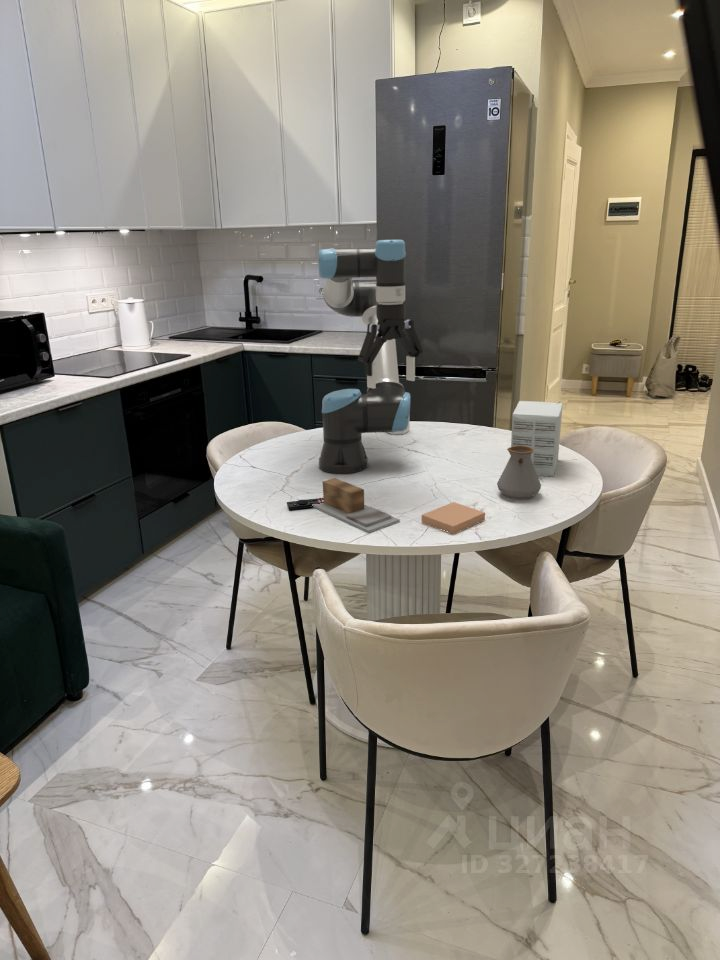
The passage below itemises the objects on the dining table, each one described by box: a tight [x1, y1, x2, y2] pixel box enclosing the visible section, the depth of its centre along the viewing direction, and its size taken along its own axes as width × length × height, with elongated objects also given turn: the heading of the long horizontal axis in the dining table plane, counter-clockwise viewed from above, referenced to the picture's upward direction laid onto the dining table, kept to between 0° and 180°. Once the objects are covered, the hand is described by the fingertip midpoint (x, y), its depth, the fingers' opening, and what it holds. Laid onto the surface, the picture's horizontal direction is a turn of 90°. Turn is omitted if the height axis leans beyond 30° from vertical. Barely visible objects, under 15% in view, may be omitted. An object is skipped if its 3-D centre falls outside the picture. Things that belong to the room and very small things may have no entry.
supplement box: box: [509, 400, 563, 477], centre depth 200 cm, size 17×13×18 cm
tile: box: [421, 501, 486, 535], centre depth 164 cm, size 2×12×10 cm
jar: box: [386, 414, 411, 435], centre depth 241 cm, size 9×8×12 cm
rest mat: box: [311, 503, 401, 534], centre depth 170 cm, size 24×10×1 cm, turn 40°
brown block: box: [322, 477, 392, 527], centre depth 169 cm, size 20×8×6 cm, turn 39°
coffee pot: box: [496, 446, 542, 501], centre depth 173 cm, size 21×12×15 cm, turn 166°
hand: (391, 384), depth 181 cm, fingers open, 13 cm apart
